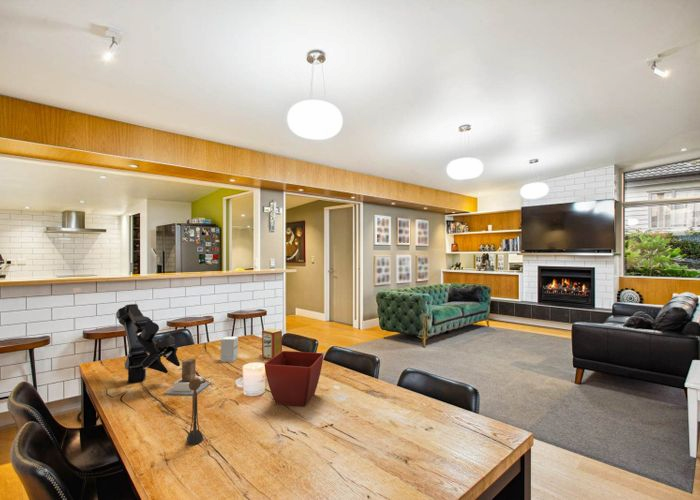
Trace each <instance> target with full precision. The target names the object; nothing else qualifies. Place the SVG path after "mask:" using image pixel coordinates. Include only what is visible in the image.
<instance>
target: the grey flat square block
mask: <svg viewBox="0 0 700 500" xmlns="http://www.w3.org/2000/svg"><path fill="white" fill-rule="evenodd" d="M203 377H204V376H199V375H198V376H196V375H195V378H199V379H200V380H204V378H203ZM210 385H212V381H206V382H205V383H202V384H201V385H200V387H199V389H197V390H196V392H197V393H198V394H199V393H201V392H202V391H203V390H205V389H206V388H207V387H209V386H210ZM192 393H194V390H190V389H189V382H182V377H181V378H180V379H178V380H176V381H175V382H173V387H171V388H169V389H168V390H166V391H165V392H164V393H163V395H165V396H166V395H168V396H173V395H174V396H192Z"/></svg>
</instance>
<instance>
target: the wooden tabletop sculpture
mask: <svg viewBox="0 0 700 500" xmlns="http://www.w3.org/2000/svg"><path fill="white" fill-rule="evenodd" d="M205 382H207V381H206V379H205V378H203V380H200V379H199V378H193V379H192V380H191V381H190V382H189V389H190V390H194V393H192V395H191V398H192V404H191V405H192V406H191V409H192V411H191V424H190V430H189V433H188V434H187V437H186V441H185V442H186V444H187V445H189V446H194V445H198V444H200V443H202V442H203V440H204V434H203V433H202V431H201V430H200V426H199V417H198V394H199V393H197V392H196V390H197V389H199V387H200V385H201V384H202V383H205Z"/></svg>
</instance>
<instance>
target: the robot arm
mask: <svg viewBox="0 0 700 500" xmlns="http://www.w3.org/2000/svg"><path fill="white" fill-rule="evenodd" d="M115 316H116V319H117V320H118V323H119V324H120V325H121V326H123V328H124V332H125V337H126V341H127V345H128V348H129V351H128V354H127V356H126V359H125V362H124V369H125V370H127V372H128V373H127V382H126V383H127V384H132V383H142V382H144V380H145V379H146V378H147V369H150V370H154V371H158V372H161V373H163V374H167V373H169V370H168V369H167V367H166V366H165V365H164V364H163V362H162V359H161V358H162V357H163V358H165V360H166V361H168V362H170V363H171V364H173V365H175V366H176V367H180V366H181V363H180V361H179V358H178V355H177V351H178V348H179V346H178V345H177V344H176V343H175V339H176V338H175V337H174V336H173V335H172V334H170V335H168V336H166V337H165V339H163V340H162V339H156V338H155V337H156V335H158V332H159V330H160V327H159V324H157V323H156V322H154V321H153V319H151V318H150V317H148V316H145V315H144V314H143V313H142V312H141V310H140V308H139V305H138V304H137V303H131V304H126V305H124V306H123V307H120V308H118V310H117V311H116V315H115Z"/></svg>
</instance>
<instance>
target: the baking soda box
mask: <svg viewBox="0 0 700 500" xmlns="http://www.w3.org/2000/svg"><path fill="white" fill-rule="evenodd" d="M282 351H283V330H279V329H276V328H268V329H262V330H261V358H262V359H265V358H266V360H268V359H269V360H271V359H272V358H273V357H275V356H276V355H277V354H279V353H280V352H282ZM269 360H268V361H269Z"/></svg>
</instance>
